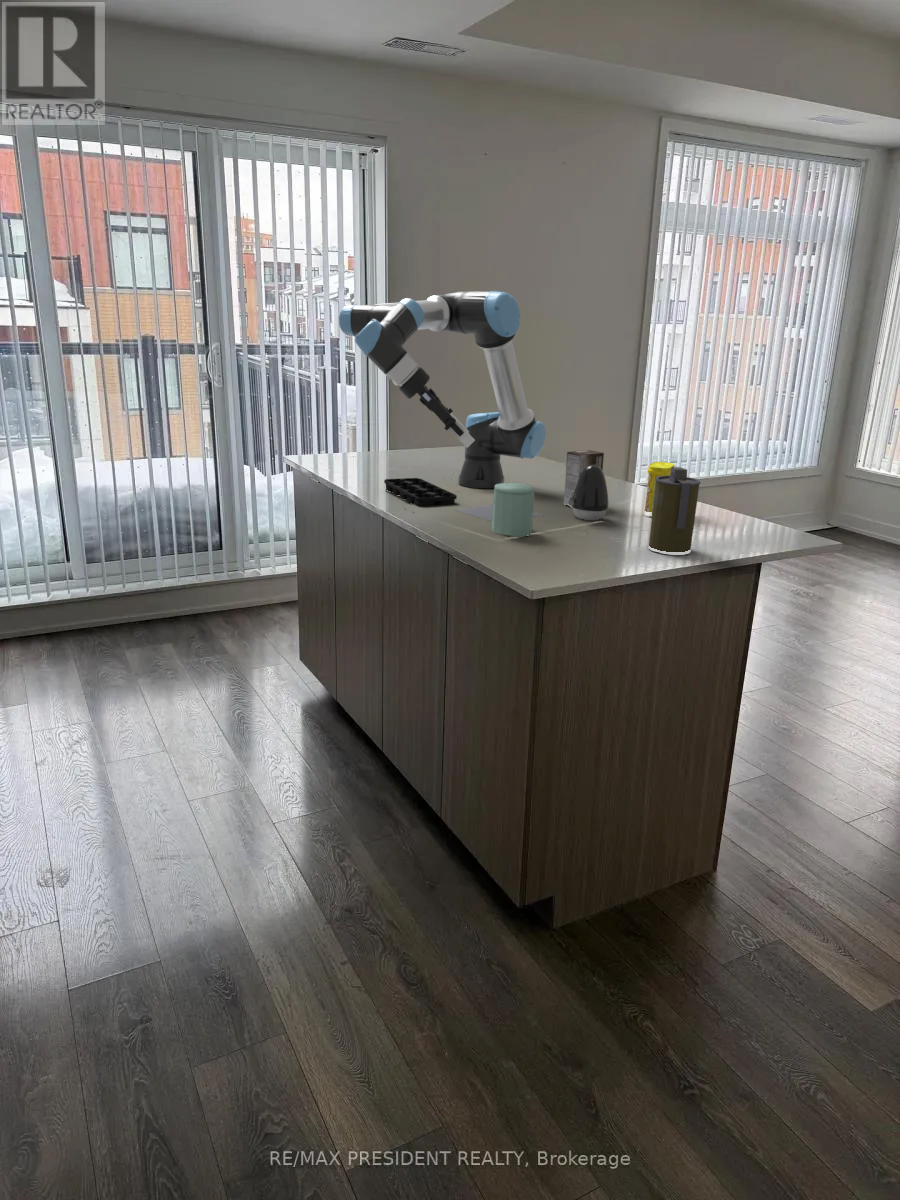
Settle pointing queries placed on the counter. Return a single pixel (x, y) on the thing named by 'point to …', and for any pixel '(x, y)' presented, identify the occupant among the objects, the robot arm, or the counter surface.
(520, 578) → the counter surface
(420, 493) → the egg carton
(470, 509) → the mat
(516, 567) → the counter surface
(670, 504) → the canister
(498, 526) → the faceted lidded jar
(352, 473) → the counter surface
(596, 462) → the coffee box
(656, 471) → the canister
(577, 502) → the black egg-shaped device
